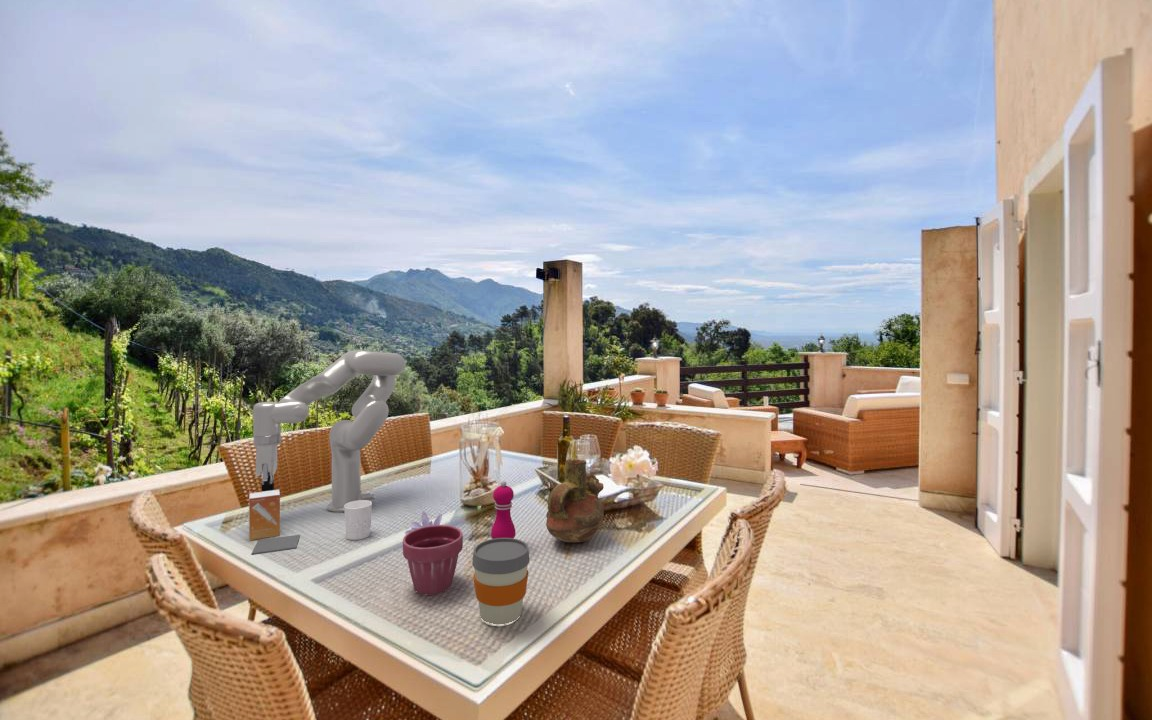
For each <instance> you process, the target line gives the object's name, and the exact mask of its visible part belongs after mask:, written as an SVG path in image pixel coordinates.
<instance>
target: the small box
mask: <svg viewBox="0 0 1152 720" xmlns="http://www.w3.org/2000/svg"><path fill="white" fill-rule="evenodd" d="M248 497H249V499H248V501H249V502H248V503H249V505H248V524H249V525H248V526H249V527H248V528H249V529H248V530H249V531H248V533H249V534H248V535H249V536H248V537H249V538H248V541H254V540H262V539H268V538H274V537H280V536H279V535H281V492H280V489H274V490H272V491H263V492H262V491H259V492H258V491H257V492H251V493H249V494H248Z"/></svg>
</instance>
